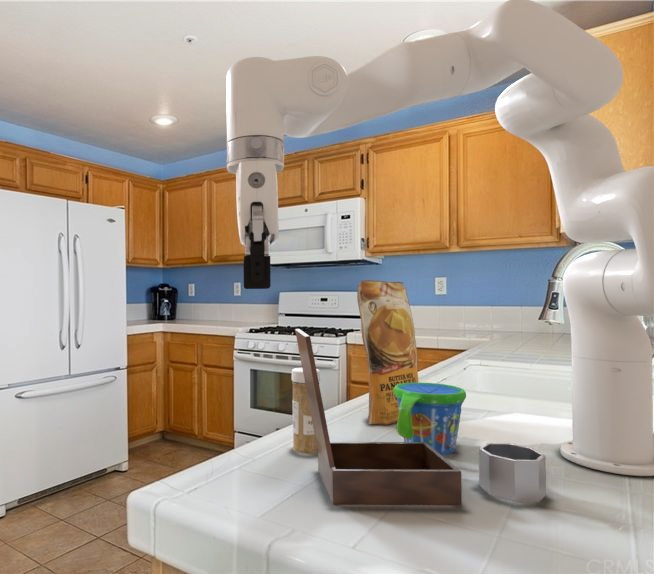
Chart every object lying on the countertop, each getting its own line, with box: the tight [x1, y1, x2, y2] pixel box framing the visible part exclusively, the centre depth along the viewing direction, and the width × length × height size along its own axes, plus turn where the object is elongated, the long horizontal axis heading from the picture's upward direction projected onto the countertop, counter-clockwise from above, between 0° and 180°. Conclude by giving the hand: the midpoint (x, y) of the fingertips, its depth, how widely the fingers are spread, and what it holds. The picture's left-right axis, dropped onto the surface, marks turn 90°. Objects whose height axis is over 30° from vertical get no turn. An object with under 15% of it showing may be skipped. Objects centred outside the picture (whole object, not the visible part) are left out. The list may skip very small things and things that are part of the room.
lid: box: [294, 328, 335, 468], centre depth 64 cm, size 16×11×1 cm
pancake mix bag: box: [356, 279, 419, 425], centre depth 100 cm, size 7×19×28 cm, turn 125°
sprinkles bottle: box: [291, 367, 321, 455], centre depth 79 cm, size 5×5×14 cm
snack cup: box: [394, 382, 467, 456], centre depth 80 cm, size 16×10×10 cm
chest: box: [317, 441, 463, 507], centre depth 64 cm, size 15×11×5 cm
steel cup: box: [478, 442, 547, 503], centre depth 62 cm, size 7×7×6 cm
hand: (256, 288), depth 65 cm, fingers open, 9 cm apart
